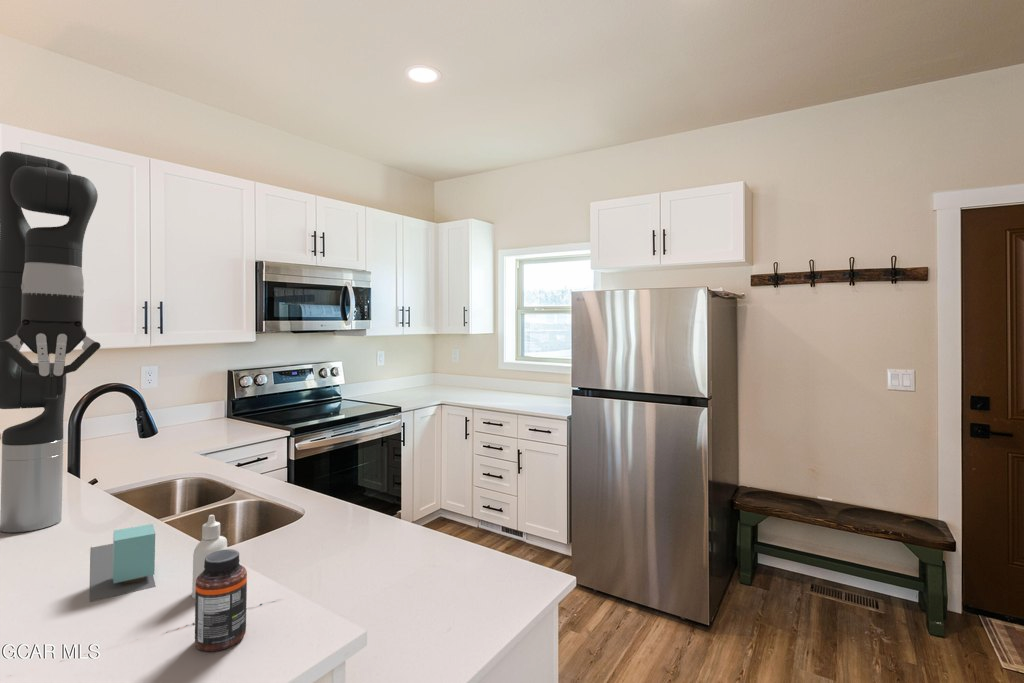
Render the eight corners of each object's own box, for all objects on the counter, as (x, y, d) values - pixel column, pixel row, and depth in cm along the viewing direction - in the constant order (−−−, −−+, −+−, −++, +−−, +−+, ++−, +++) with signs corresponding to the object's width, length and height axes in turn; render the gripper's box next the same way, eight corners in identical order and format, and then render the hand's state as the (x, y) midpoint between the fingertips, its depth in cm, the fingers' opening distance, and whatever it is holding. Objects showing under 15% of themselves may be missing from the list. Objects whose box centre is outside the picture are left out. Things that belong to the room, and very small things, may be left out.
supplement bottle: (208, 627, 70) (210, 545, 70) (253, 626, 71) (255, 545, 71) (184, 654, 64) (186, 564, 64) (233, 653, 65) (235, 564, 65)
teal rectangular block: (112, 571, 83) (113, 530, 83) (151, 562, 86) (152, 523, 86) (113, 583, 79) (114, 540, 79) (154, 574, 82) (155, 533, 82)
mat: (90, 549, 94) (90, 547, 94) (144, 539, 99) (144, 537, 99) (89, 604, 75) (89, 601, 75) (155, 588, 80) (155, 586, 80)
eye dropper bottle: (235, 588, 81) (237, 513, 81) (198, 604, 76) (200, 523, 76) (220, 581, 83) (222, 508, 83) (183, 595, 78) (185, 517, 78)
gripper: (104, 297, 91) (102, 394, 91) (0, 291, 83) (-3, 398, 83) (105, 295, 85) (103, 398, 85) (-7, 288, 77) (-10, 403, 77)
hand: (51, 398), depth 84 cm, fingers closed
